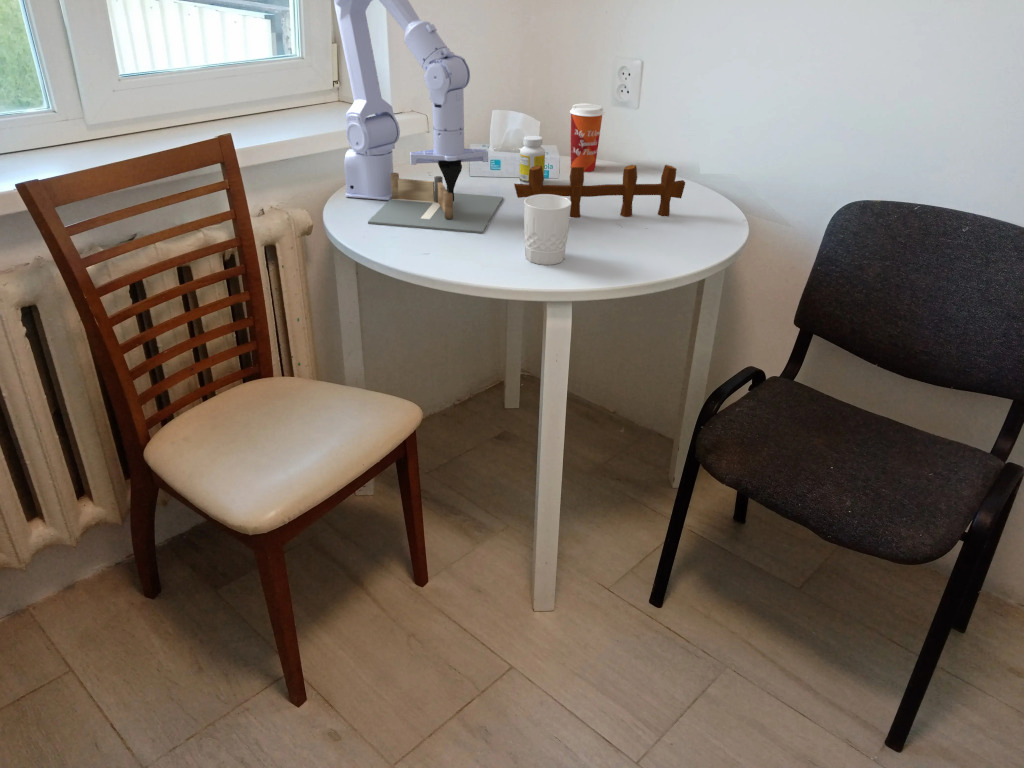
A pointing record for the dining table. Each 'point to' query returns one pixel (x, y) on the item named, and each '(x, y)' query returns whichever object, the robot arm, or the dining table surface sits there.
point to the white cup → (546, 228)
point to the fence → (605, 188)
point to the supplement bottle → (531, 157)
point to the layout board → (440, 213)
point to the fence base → (414, 188)
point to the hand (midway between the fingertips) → (450, 199)
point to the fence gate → (445, 201)
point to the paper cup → (585, 135)
